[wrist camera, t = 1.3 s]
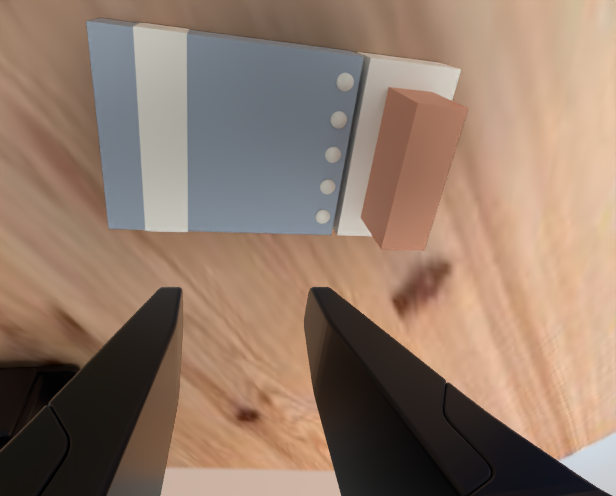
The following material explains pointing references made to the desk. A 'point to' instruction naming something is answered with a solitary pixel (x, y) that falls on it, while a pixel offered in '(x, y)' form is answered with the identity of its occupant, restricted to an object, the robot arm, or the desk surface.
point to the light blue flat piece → (219, 129)
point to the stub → (398, 150)
